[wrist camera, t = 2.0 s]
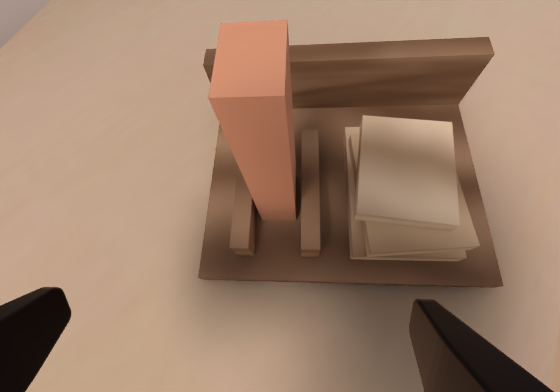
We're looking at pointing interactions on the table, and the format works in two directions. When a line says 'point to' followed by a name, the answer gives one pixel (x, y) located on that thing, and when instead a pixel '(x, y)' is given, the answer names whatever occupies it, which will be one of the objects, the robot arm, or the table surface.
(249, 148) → the block
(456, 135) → the rack
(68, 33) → the table surface
